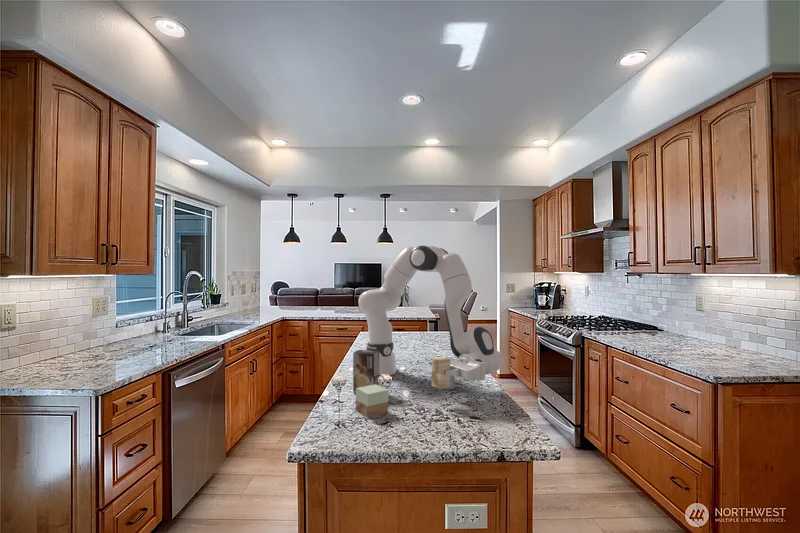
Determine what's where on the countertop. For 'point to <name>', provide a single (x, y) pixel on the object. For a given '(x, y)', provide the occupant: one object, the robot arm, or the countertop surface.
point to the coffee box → (365, 368)
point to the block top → (372, 395)
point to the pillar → (440, 372)
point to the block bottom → (371, 409)
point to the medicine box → (452, 382)
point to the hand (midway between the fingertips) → (439, 371)
